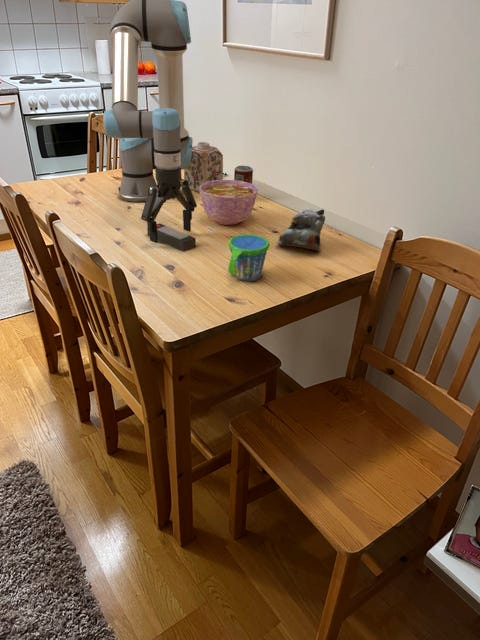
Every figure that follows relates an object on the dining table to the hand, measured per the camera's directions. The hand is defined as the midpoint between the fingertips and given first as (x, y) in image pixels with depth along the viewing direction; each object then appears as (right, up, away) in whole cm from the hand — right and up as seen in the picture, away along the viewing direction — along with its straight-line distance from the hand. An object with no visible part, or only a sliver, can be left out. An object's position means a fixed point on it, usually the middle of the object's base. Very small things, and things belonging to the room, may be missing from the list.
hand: (171, 235), depth 152 cm
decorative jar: (+7, +28, +49) cm, 57 cm away
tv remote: (0, -1, +1) cm, 2 cm away
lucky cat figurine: (+40, -4, +1) cm, 40 cm away
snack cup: (+24, -14, -18) cm, 33 cm away
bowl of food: (+17, +8, +18) cm, 26 cm away
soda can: (+23, +21, +39) cm, 50 cm away
